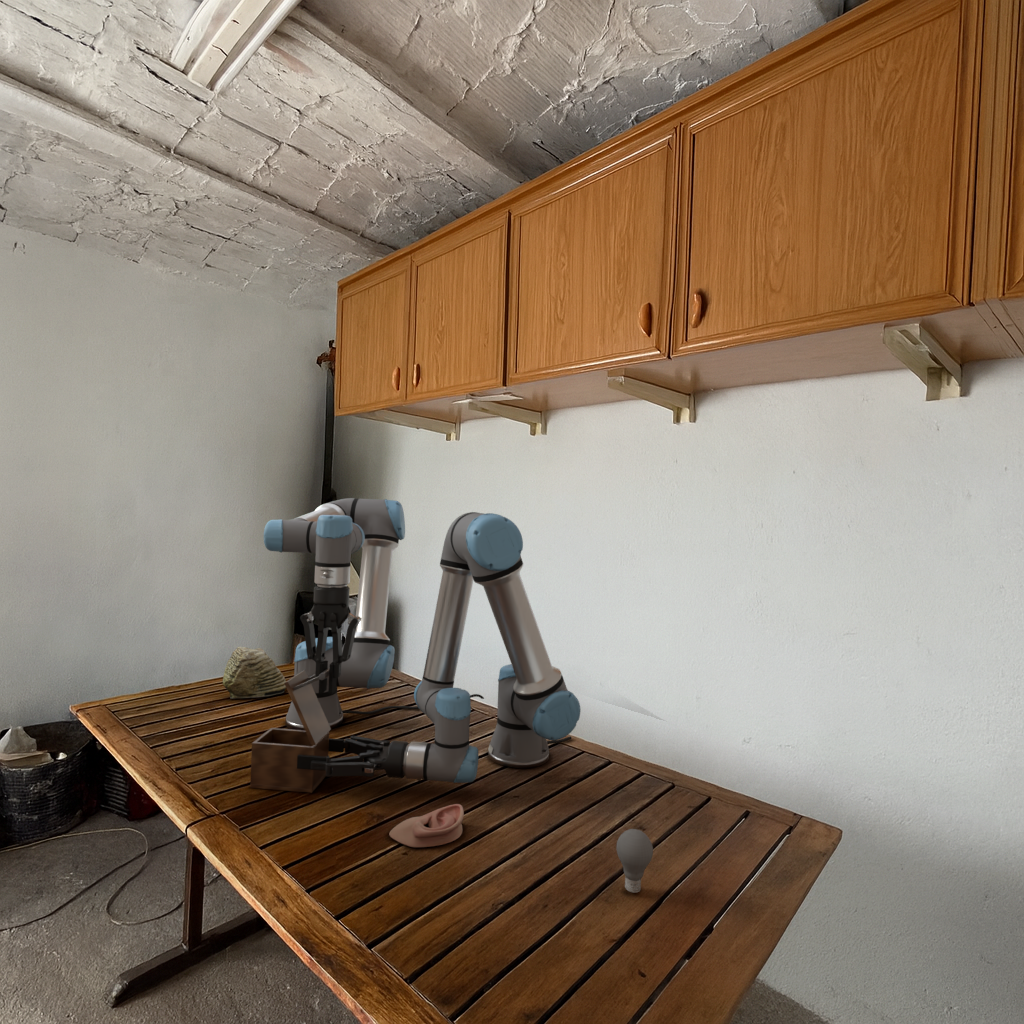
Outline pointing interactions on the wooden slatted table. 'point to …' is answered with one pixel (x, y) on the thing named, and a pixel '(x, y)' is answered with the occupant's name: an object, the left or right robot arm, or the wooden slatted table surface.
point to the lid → (308, 705)
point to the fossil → (252, 674)
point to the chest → (285, 761)
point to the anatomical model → (431, 828)
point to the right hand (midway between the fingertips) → (307, 752)
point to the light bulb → (634, 857)
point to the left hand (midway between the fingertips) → (327, 691)
